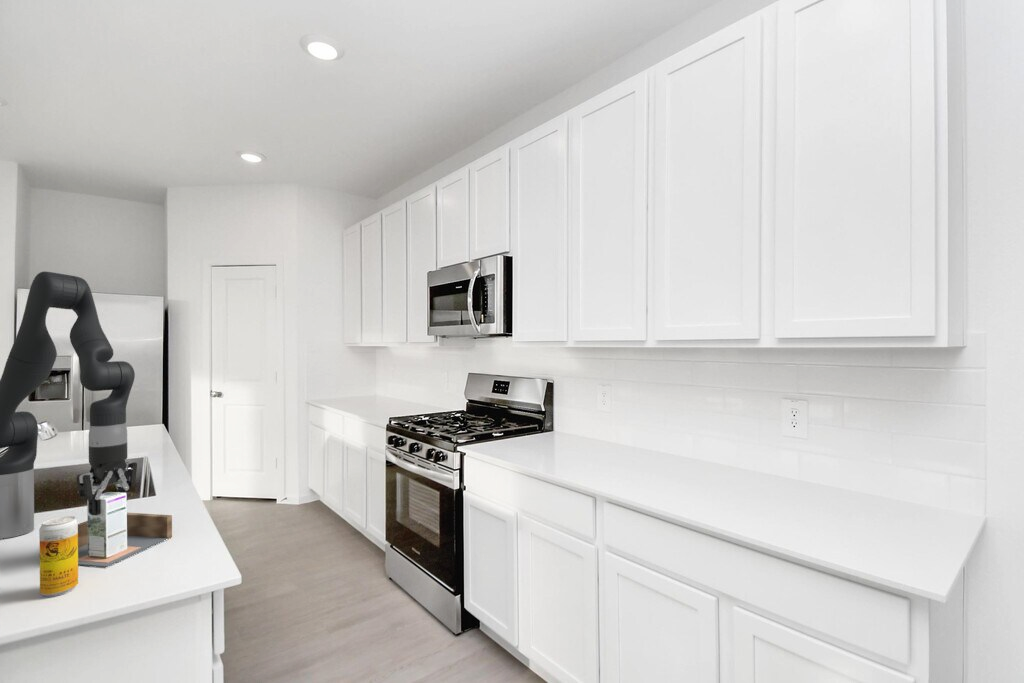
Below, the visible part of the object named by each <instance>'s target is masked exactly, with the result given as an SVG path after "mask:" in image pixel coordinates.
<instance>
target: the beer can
mask: <svg viewBox="0 0 1024 683" xmlns="http://www.w3.org/2000/svg"><path fill="white" fill-rule="evenodd" d="M78 524H79V522H78V520H77V519H76V517H75V516H72V515H65V516H58V517H57V516H56V517H54V518H53V517H52V518H50V519H46V520H44V521H43V522H41V526H40V527H39V530H38V531H39V533H38V534H39V536H38V537H39V539H38V540H39V593H40V594H41V595H43V596H44V597H48V598H49V597H50V598H51V597H58V596H62V595H65V594H68V593H70V592H72V591H73V590H74V589H75V588H76V587H77V585H78V584H79V565H78Z"/></svg>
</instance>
